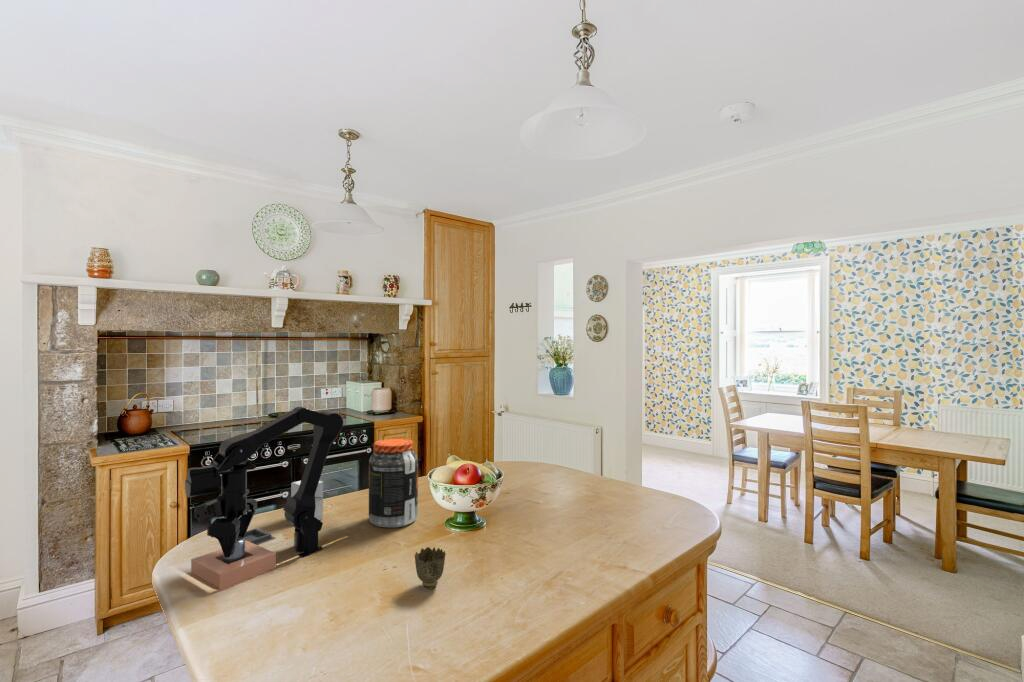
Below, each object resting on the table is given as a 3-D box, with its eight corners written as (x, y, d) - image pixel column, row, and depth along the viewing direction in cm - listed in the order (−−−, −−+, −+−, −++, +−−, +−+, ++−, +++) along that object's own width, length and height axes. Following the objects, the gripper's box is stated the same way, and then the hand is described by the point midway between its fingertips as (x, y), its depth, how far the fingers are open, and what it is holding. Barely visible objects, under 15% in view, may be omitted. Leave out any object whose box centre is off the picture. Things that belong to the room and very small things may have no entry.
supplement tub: (425, 523, 162) (426, 443, 162) (378, 533, 154) (378, 449, 153) (406, 508, 176) (407, 435, 175) (361, 517, 167) (362, 440, 166)
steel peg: (247, 566, 131) (247, 536, 131) (241, 575, 126) (241, 544, 126) (226, 568, 130) (226, 537, 130) (219, 577, 125) (219, 545, 125)
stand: (276, 540, 147) (276, 534, 147) (242, 553, 139) (242, 545, 139) (257, 533, 153) (257, 526, 153) (223, 544, 145) (223, 537, 144)
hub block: (275, 568, 130) (275, 553, 130) (219, 591, 119) (220, 574, 119) (246, 554, 138) (246, 540, 138) (191, 575, 126) (191, 559, 126)
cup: (431, 596, 117) (431, 562, 117) (407, 588, 121) (408, 555, 121) (451, 583, 124) (451, 551, 123) (428, 575, 127) (428, 544, 127)
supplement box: (302, 526, 159) (302, 486, 158) (290, 520, 163) (290, 482, 163) (323, 519, 165) (323, 481, 164) (311, 514, 169) (311, 477, 169)
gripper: (213, 479, 135) (213, 537, 136) (182, 502, 117) (182, 568, 117) (257, 477, 138) (257, 534, 138) (234, 499, 119) (234, 565, 120)
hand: (233, 549), depth 128 cm, fingers open, 9 cm apart
